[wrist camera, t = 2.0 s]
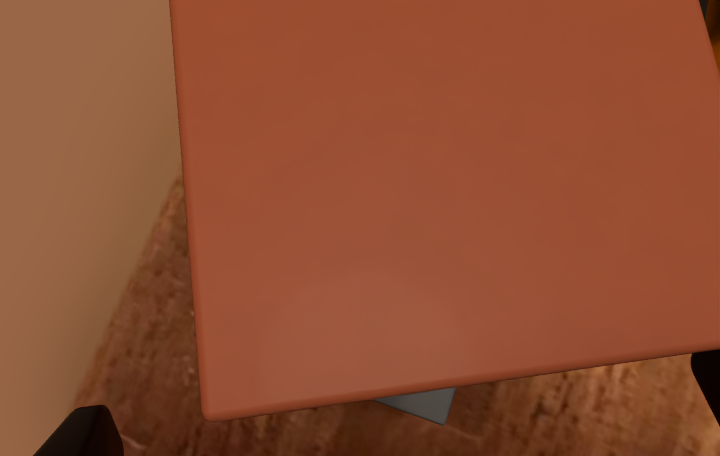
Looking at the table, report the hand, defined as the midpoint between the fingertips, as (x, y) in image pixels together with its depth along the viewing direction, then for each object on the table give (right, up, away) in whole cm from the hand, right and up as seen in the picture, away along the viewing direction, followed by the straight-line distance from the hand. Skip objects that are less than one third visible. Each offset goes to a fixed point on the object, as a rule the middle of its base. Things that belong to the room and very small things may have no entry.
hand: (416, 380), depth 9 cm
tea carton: (-1, +2, +8) cm, 8 cm away
